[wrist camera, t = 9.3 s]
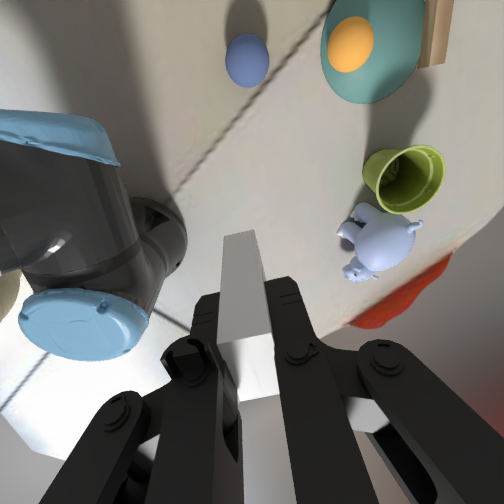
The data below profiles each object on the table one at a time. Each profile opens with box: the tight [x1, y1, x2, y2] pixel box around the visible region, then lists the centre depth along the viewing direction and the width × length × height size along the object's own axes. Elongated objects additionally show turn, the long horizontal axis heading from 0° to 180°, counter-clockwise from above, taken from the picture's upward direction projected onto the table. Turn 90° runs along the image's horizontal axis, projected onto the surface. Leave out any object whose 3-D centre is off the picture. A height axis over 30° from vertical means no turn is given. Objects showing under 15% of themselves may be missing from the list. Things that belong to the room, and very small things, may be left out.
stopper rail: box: [418, 0, 454, 68], centre depth 34 cm, size 2×8×2 cm, turn 10°
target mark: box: [321, 0, 425, 104], centre depth 35 cm, size 14×14×1 cm
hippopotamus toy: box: [337, 202, 423, 284], centre depth 45 cm, size 11×15×10 cm
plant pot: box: [363, 145, 446, 214], centre depth 40 cm, size 9×9×9 cm
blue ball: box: [225, 33, 269, 88], centre depth 33 cm, size 6×6×6 cm
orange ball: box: [327, 16, 374, 73], centre depth 33 cm, size 6×6×6 cm
